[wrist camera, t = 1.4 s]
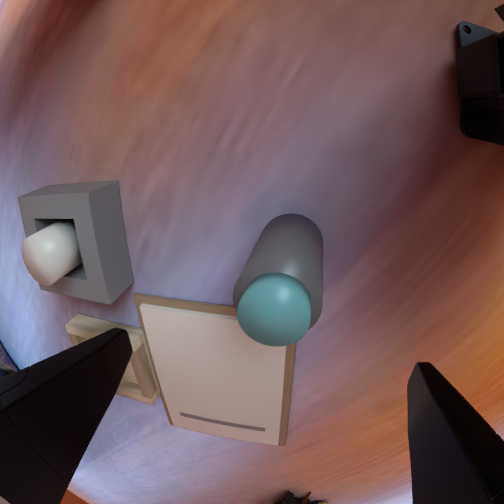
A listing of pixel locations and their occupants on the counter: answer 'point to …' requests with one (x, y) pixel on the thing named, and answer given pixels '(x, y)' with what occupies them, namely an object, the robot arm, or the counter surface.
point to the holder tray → (139, 367)
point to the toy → (297, 500)
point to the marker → (282, 282)
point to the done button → (52, 252)
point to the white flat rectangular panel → (216, 370)
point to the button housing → (85, 236)
